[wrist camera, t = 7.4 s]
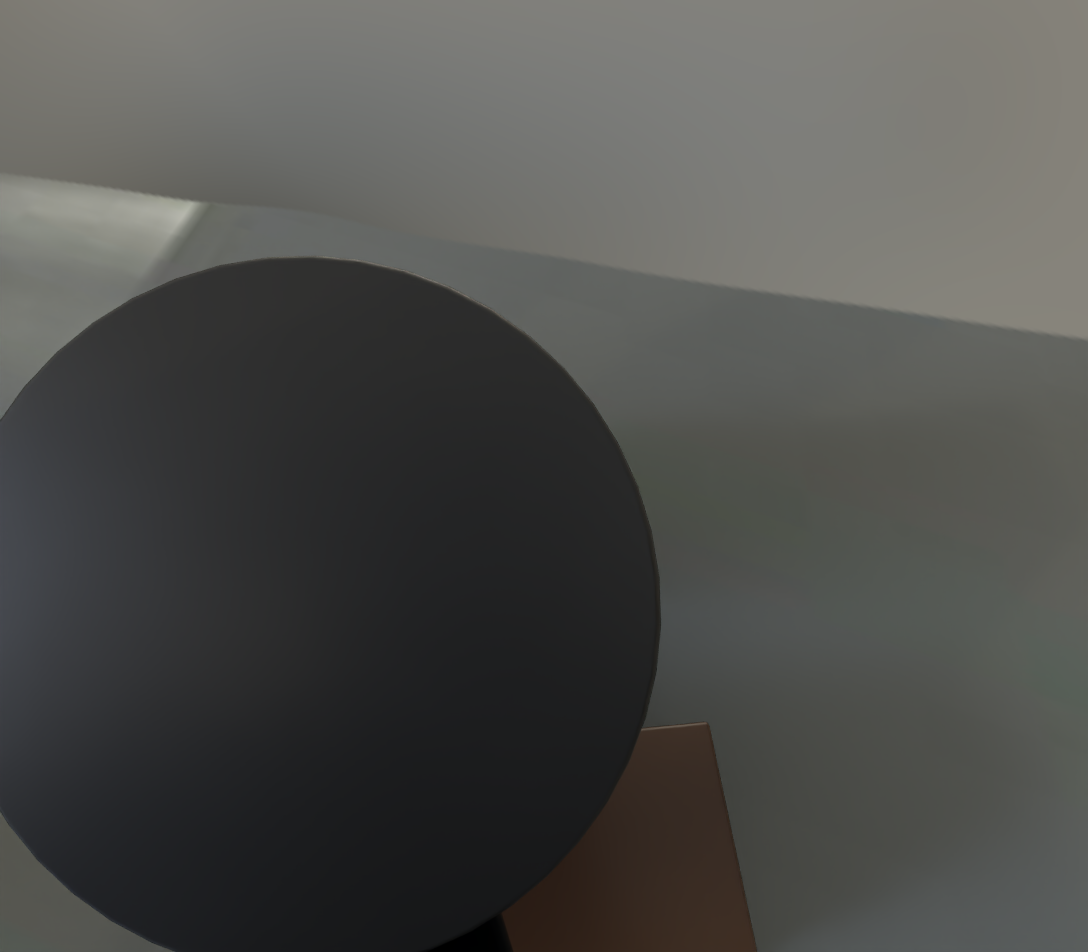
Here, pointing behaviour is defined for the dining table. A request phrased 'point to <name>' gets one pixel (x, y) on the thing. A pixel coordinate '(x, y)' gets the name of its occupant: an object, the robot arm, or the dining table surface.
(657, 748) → the walnut block
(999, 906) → the dining table surface
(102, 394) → the tube
